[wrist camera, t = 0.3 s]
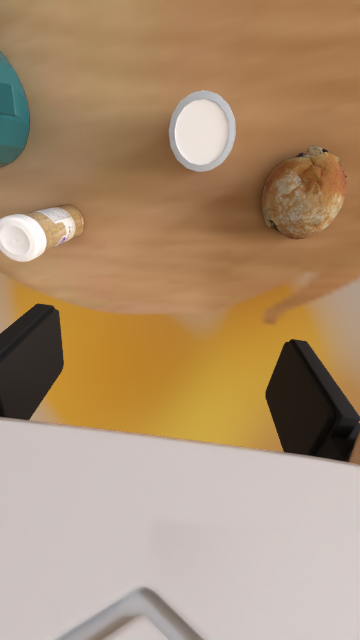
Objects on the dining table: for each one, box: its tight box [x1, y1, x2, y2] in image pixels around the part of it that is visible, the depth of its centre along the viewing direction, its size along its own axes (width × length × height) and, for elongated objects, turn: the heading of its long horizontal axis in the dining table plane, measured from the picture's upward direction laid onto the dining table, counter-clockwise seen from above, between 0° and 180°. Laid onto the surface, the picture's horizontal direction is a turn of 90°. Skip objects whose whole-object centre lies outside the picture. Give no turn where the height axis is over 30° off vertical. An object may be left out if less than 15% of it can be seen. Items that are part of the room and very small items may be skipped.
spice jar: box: [0, 205, 84, 262], centre depth 32 cm, size 5×5×13 cm
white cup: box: [169, 90, 235, 172], centre depth 30 cm, size 7×7×7 cm
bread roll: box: [261, 146, 347, 239], centre depth 33 cm, size 10×10×8 cm
